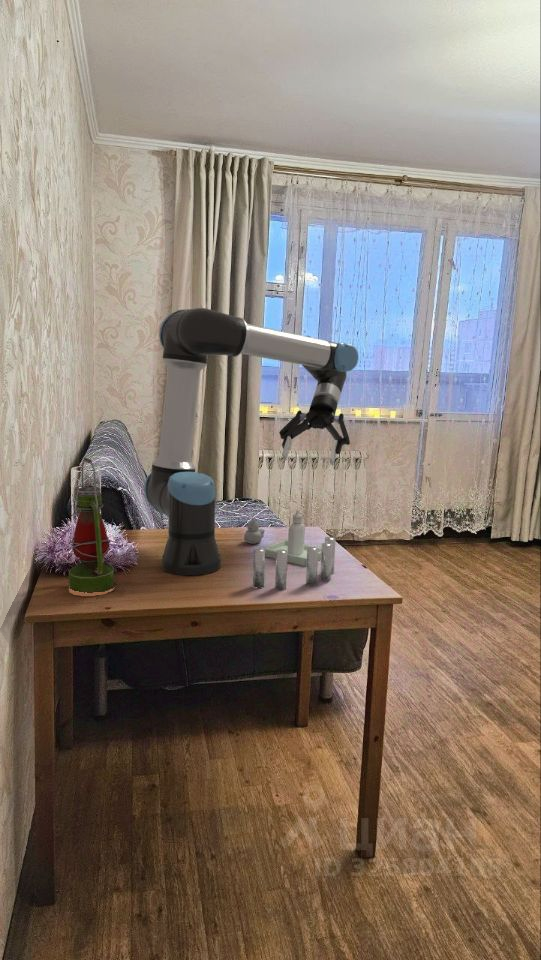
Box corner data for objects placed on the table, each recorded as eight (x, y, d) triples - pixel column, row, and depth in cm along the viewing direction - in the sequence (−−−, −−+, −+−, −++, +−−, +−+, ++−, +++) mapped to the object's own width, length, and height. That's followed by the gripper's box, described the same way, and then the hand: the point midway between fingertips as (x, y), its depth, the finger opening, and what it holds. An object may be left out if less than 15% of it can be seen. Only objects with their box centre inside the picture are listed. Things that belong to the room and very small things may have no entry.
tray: (262, 555, 172) (262, 548, 172) (284, 546, 181) (285, 539, 180) (306, 566, 164) (306, 559, 164) (327, 556, 173) (327, 549, 173)
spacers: (250, 585, 149) (251, 548, 148) (329, 570, 161) (331, 536, 160) (267, 595, 143) (268, 557, 141) (348, 579, 155) (349, 543, 154)
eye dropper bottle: (282, 551, 173) (284, 509, 170) (300, 549, 175) (302, 507, 173) (290, 556, 169) (292, 513, 167) (308, 554, 172) (310, 511, 169)
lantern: (125, 593, 142) (123, 461, 137) (78, 602, 136) (73, 465, 131) (104, 575, 154) (100, 453, 148) (59, 583, 148) (54, 456, 142)
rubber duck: (239, 542, 184) (240, 515, 183) (258, 539, 188) (259, 512, 186) (249, 546, 180) (250, 519, 178) (269, 543, 183) (269, 516, 182)
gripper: (368, 414, 184) (353, 472, 173) (286, 408, 192) (267, 463, 181) (366, 396, 178) (350, 455, 167) (282, 391, 186) (261, 446, 175)
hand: (307, 459), depth 174 cm, fingers open, 13 cm apart
